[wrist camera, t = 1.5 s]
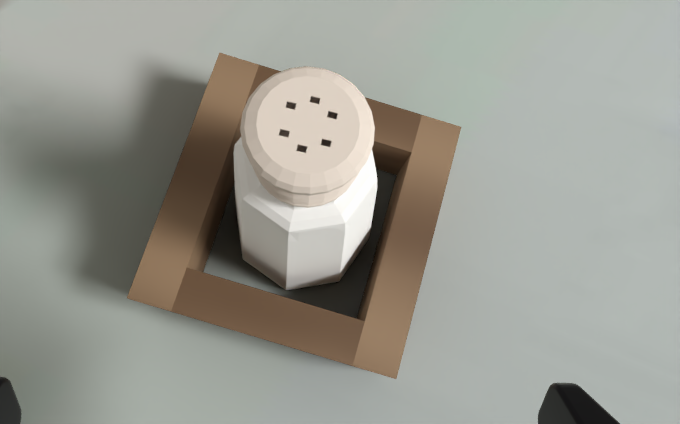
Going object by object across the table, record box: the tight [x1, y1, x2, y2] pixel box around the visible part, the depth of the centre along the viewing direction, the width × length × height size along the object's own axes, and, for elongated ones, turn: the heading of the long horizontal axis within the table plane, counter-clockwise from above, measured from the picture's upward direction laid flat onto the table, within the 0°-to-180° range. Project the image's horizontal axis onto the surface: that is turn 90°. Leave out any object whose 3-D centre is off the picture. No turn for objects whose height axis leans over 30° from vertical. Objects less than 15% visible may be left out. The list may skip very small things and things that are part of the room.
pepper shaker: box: [233, 66, 377, 290], centre depth 17 cm, size 5×5×11 cm
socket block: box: [127, 53, 461, 379], centre depth 21 cm, size 9×9×3 cm
